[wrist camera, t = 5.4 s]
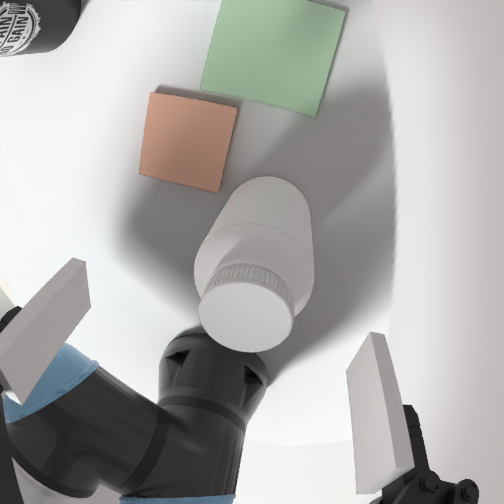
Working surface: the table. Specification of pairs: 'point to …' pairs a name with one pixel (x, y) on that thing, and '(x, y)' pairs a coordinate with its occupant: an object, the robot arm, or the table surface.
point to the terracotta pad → (186, 140)
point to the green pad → (273, 52)
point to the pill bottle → (256, 266)
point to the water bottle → (35, 25)
